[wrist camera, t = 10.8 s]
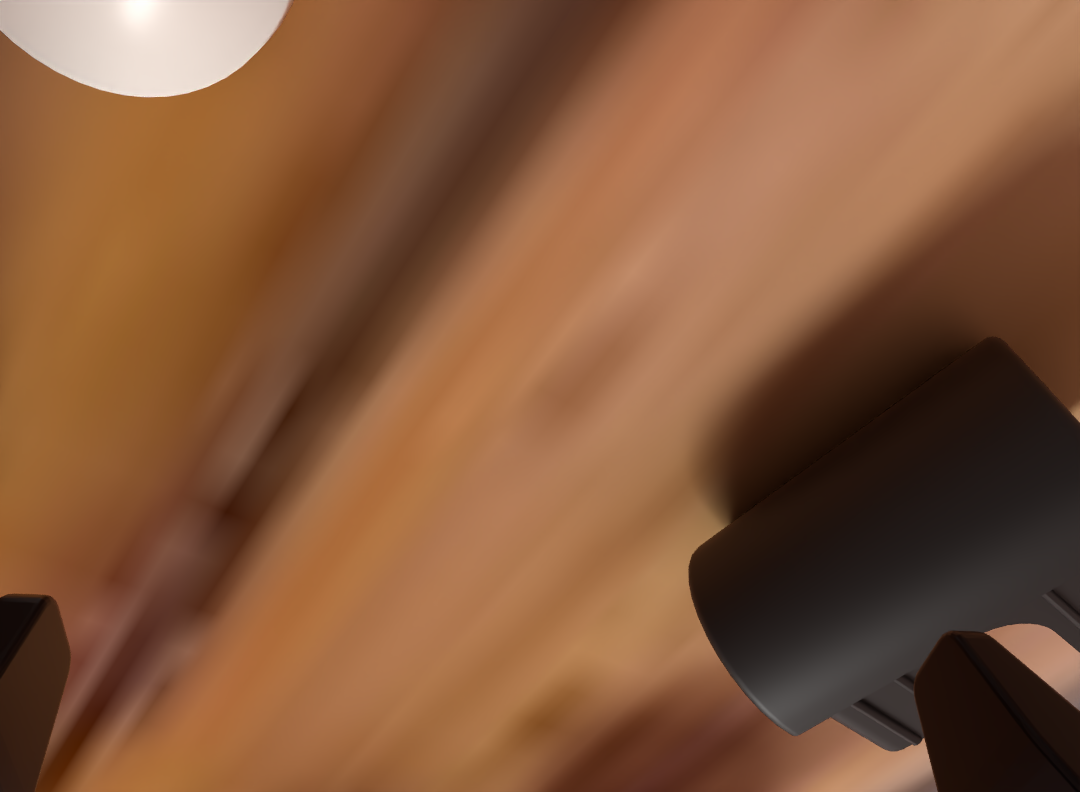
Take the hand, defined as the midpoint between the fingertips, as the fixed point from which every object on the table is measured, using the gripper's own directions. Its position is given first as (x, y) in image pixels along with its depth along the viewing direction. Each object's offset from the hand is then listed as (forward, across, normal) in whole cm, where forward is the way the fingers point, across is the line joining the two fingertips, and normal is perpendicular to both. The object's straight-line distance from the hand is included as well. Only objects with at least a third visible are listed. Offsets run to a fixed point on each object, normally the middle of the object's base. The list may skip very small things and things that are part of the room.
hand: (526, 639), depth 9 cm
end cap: (+13, -12, +8) cm, 20 cm away
